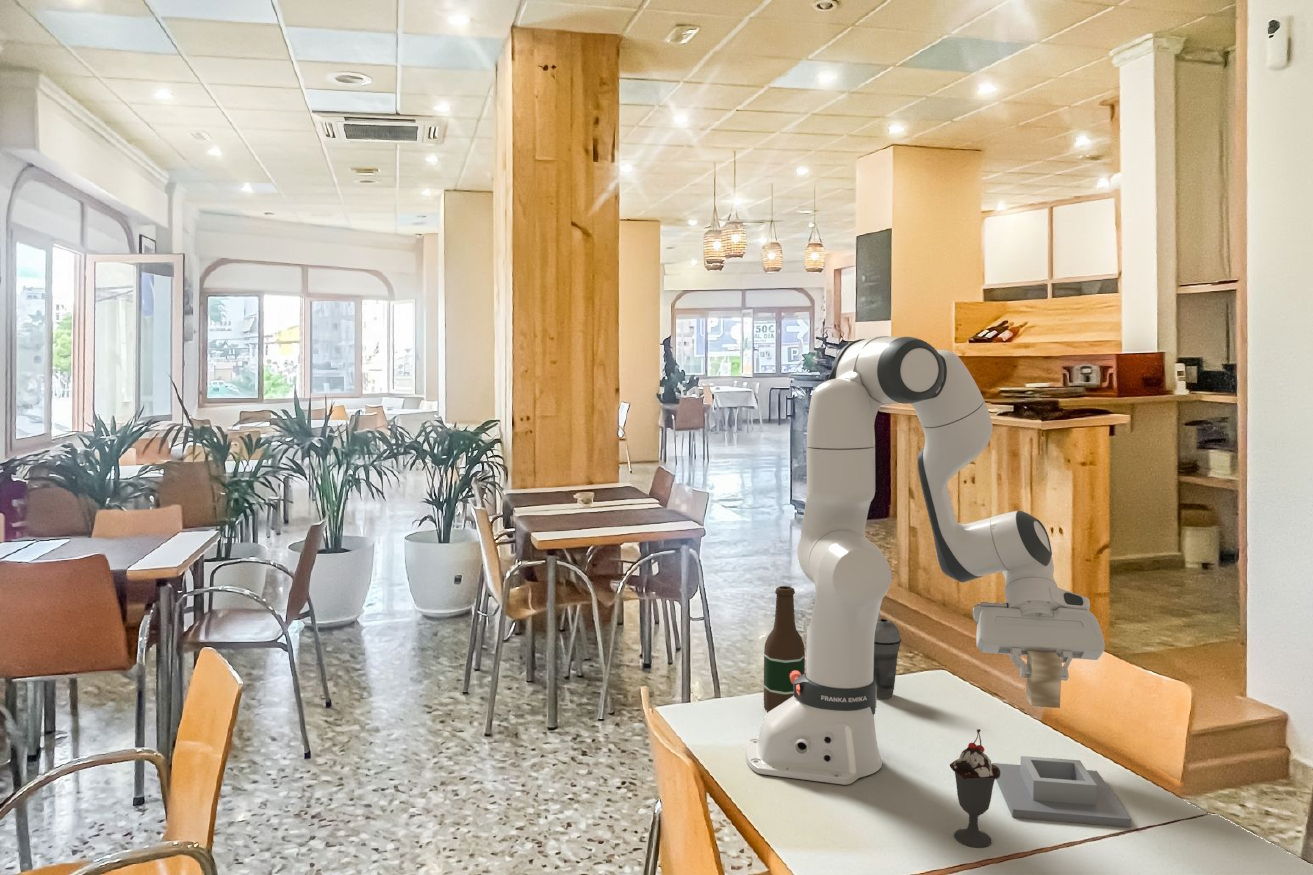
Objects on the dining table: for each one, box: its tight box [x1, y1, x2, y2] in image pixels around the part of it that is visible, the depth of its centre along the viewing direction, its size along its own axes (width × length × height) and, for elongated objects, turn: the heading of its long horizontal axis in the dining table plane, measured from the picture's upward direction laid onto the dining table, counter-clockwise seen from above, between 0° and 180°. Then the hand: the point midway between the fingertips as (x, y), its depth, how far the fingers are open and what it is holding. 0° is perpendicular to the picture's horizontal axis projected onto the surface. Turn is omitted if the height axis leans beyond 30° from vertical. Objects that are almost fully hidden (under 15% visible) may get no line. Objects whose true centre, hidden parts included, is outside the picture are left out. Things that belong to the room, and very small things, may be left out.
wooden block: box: [1025, 650, 1063, 709], centre depth 149 cm, size 4×4×8 cm
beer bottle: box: [763, 585, 806, 713], centre depth 172 cm, size 8×8×24 cm
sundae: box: [949, 728, 1000, 848], centre depth 125 cm, size 7×7×15 cm
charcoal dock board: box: [991, 755, 1132, 828], centre depth 138 cm, size 16×16×4 cm
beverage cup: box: [873, 610, 902, 700], centre depth 181 cm, size 7×7×20 cm
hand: (1044, 677), depth 149 cm, fingers closed on wooden block, 4 cm apart
